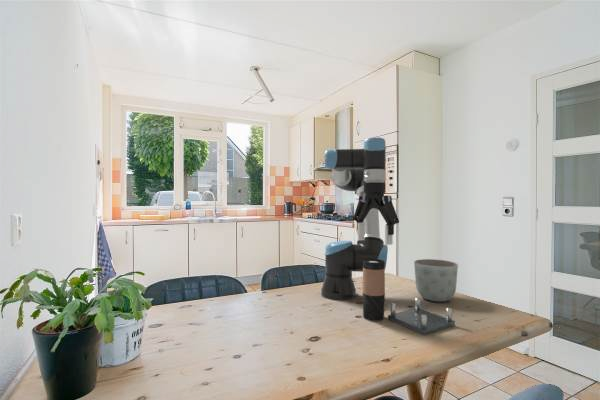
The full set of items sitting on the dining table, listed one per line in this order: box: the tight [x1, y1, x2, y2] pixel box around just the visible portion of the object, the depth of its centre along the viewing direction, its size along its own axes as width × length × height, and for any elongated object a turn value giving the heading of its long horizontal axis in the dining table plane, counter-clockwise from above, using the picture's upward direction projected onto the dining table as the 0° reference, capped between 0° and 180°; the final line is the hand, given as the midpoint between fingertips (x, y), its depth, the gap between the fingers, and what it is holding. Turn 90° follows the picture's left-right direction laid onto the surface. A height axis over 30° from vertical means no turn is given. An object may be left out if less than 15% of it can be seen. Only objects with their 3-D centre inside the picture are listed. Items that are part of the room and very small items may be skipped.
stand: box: [387, 297, 456, 336], centre depth 108 cm, size 15×15×6 cm
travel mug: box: [362, 259, 386, 322], centre depth 113 cm, size 8×8×20 cm
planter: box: [413, 258, 459, 303], centre depth 135 cm, size 17×17×15 cm
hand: (374, 242), depth 113 cm, fingers open, 13 cm apart
